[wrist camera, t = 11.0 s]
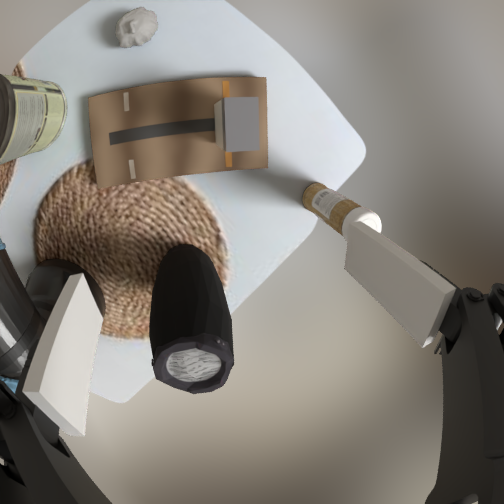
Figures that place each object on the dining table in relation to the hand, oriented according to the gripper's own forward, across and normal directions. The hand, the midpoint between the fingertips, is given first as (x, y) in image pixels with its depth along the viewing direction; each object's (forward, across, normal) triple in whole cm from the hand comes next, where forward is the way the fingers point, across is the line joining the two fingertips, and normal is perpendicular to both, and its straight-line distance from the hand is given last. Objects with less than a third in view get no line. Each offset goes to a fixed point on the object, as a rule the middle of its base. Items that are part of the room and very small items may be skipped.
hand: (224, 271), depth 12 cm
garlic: (+25, -5, +21) cm, 33 cm away
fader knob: (+22, +5, +6) cm, 24 cm away
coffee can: (+26, -21, +13) cm, 36 cm away
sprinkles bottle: (+24, +18, -6) cm, 31 cm away
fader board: (+25, -1, +6) cm, 26 cm away
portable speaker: (+25, -3, -14) cm, 29 cm away
